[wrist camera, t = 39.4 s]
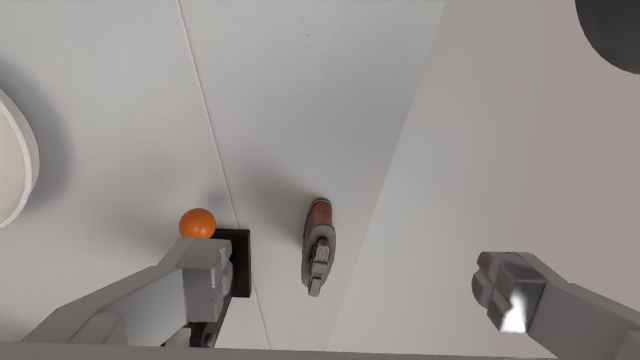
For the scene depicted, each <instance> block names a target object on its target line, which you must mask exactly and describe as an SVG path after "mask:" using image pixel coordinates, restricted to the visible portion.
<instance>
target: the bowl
mask: <svg viewBox="0 0 640 360" xmlns="http://www.w3.org/2000/svg"><path fill="white" fill-rule="evenodd" d="M39 166H40V160H39V151H38V146H37V143H36V140H35V137H34V134H33V131H32V130H31V128H30V126H29V124H28V122H27V120H26V118H25V117H24V115H23V114H22V113H21V111H20V110H19V109H18V107H17V106H16V105H15V103H14V102H13V101H12V100H11V99H10V98H9V97H8V96H7V95H6V94H5V93H4V92H3V91H2V90H1V89H0V229H1V228H3V227H5V226H6V225H7V224H9V223H10V222H11V221H12V220H14V219H15V218H16V217H17V216H18V215H19V213H20V212H21V210H22V209H23V208H24V206H25V205H26V202H27V199H28V197H29V194H30V192H31V191H32V190H33V188H34V186H35V184H36V181H37V178H38V175H39Z"/></svg>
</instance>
